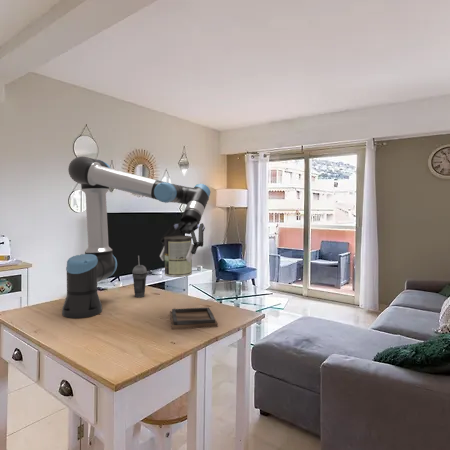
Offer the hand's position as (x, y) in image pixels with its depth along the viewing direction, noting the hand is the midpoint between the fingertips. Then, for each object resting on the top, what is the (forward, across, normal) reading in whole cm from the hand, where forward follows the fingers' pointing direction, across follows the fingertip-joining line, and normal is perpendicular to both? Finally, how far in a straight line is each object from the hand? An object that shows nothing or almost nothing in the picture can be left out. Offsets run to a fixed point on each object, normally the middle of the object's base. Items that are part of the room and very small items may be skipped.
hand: (174, 259), depth 123 cm
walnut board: (+12, -3, -24) cm, 27 cm away
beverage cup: (-3, +36, -39) cm, 53 cm away
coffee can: (+2, 0, -6) cm, 7 cm away
